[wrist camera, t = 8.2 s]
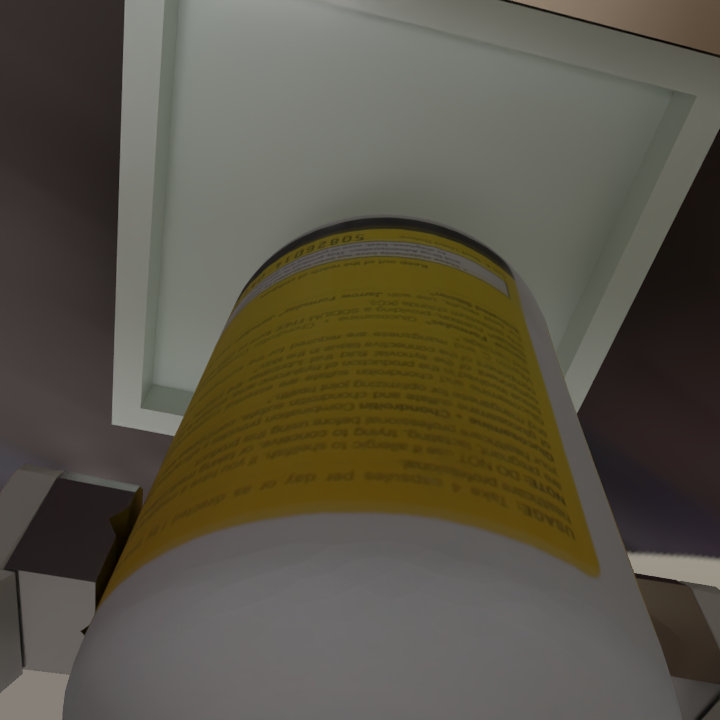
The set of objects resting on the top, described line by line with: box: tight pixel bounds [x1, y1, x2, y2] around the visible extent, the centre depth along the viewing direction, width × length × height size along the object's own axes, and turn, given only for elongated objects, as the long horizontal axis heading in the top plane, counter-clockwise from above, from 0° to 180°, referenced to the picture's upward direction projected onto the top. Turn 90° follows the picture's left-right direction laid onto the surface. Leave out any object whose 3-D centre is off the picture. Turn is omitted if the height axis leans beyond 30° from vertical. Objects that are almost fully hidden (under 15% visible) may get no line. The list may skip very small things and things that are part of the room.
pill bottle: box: [63, 214, 682, 720], centre depth 9 cm, size 6×6×12 cm
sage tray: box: [112, 0, 720, 436], centre depth 18 cm, size 13×13×2 cm
